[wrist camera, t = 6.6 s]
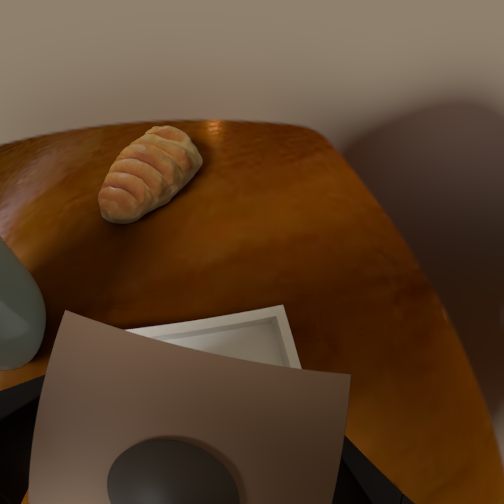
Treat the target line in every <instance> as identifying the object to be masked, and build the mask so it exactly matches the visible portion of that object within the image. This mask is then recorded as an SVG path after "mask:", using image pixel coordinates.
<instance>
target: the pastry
mask: <svg viewBox="0 0 504 504" xmlns="http://www.w3.org/2000/svg"><path fill="white" fill-rule="evenodd" d="M202 163H203V159H202V157H201V155H200V154H199V153H198V149H197V148H196V146H195V145H194V144H192V142H191V139H190V138H189V136H188V135H187V134H185V133H184V132H182V131H180V130H179V129H176V128H174V127H171V126H164V127H158V126H154V127H152V129H151V130H148V131H147V132H146V133H145V135H144V136H142V137H140V138H139V139H137V140H135V141H134V142H132V143H131V144H130V146H128V147H126V148H125V149H123V150H122V152H121V153H120V155H119V156H118V157H117V159H116V161H115V162H114V163H113V165H112V166H111V168H110V171H109V172H108V174H107V175H106V179H105V181H104V183H103V185H102V188H101V190H100V192H99V195H98V201H99V206H100V210H101V215H102V217H103V218H105V219H106V220H107V221H109V222H112V223H120V224H128V223H132V222H134V221H137V220H139V219H140V218H141V217H142V216H143V215H145V214H146V213H148V212H150V211H152V210H154V209H156V208H158V207H160V206H163V205H165V204H167V203H169V202H170V200H171V198H172V197H173V196H174V195H175V194H177V192H178V191H179V190H180V189H181V188H183V187H184V186H185V185H186V184H187V183H188V182H189V181H190V180H191V178H192V177H193V176H194V174H195V173H196V172H197V171H198V170H199V168H200V167H201V166H202Z"/></svg>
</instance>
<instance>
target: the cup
mask: <svg viewBox="0 0 504 504" xmlns="http://www.w3.org/2000/svg"><path fill="white" fill-rule="evenodd" d="M45 328H46V306H45V302H44V298H43V295H42V293H41V291H40V289H39V286H38V285H37V283H36V281H35V279H34V278H33V277H32V275H31V274H30V272H29V271H28V270H27V268H26V267H25V266H24V264H23V263H22V262H21V260H20V259H19V258H18V257H17V256H16V254H15V253H14V252H13V251H12V249H11V248H10V247H9V246H8V245H7V243H6V242H5V241H4V240H3V239H2V238H1V236H0V371H8V370H15V369H18V368H21V367H23V366H25V365H26V364H27V363H28V362H30V361H31V360H32V359H33V358H34V356H35V355H36V353H37V352H38V350H39V348H40V346H41V343H42V340H43V337H44V333H45Z"/></svg>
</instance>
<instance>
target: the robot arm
mask: <svg viewBox="0 0 504 504" xmlns="http://www.w3.org/2000/svg"><path fill="white" fill-rule="evenodd" d="M44 379H45V375H43V376H40V377H38V378H35V379H32V380H30V381H27V382H24V383H22V384H19V385H16V386H13V387H11V388H8V389H5V390H2V391H0V504H21V502H22V500H23V498H24V496H25V494H26V492H27V490H28V488H29V472H30V460H31V451H32V443H33V435H34V429H35V422H36V417H37V411H38V406H39V401H40V396H41V392H42V387H43V383H44ZM332 504H415V503H413V502H412V501H411V500H410V499H409V498H408V497H407V496H406V495H405V494H402V492H401V491H400V490H399V489H398V488H397V487H396V486H395V485H394V484H393V483H392V482H391V481H390V480H389V479H388V478H387V477H386V476H385V475H383V474H382V473H381V472H380V471H379V470H378V469H377V468H376V467H375V466H374V465H373V464H372V463H371V462H370V461H369V460H368V459H367V458H366V457H365V456H364V455H363V454H362V453H361V452H360V451H359V449H358V448H357V447H356V446H355V445H354V444H353V443H352V442H351V441H350V440H349V439H348V438H347V437H346V436H345V435H344V441H343V447H342V453H341V459H340V465H339V471H338V476H337V481H336V486H335V491H334V495H333V500H332Z"/></svg>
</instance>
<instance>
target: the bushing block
mask: <svg viewBox="0 0 504 504" xmlns="http://www.w3.org/2000/svg"><path fill="white" fill-rule="evenodd" d="M350 381H351V374H342V373H331V372H322V371H314V370H306V369H298V368H291V367H284V366H277V365H271V364H265V363H259V362H253V361H248V360H243V359H237V358H232V357H227V356H222V355H218V354H213V353H209V352H204V351H200V350H195V349H191V348H187V347H183V346H179V345H175V344H171V343H167V342H164V341H160V340H156V339H153V338H149V337H146V336H142V335H139V334H135V333H132V332H129V331H125V330H122V329H119V328H116V327H113V326H110V325H107V324H104V323H101V322H98V321H95V320H92V319H89V318H86V317H83V316H81V315H78V314H75V313H72V312H70V311H67V310H65V312H64V315H63V318H62V321H61V324H60V327H59V330H58V333H57V336H56V339H55V343H54V346H53V349H52V353H51V356H50V360H49V363H48V367H47V371H46V375H45V379H44V383H43V387H42V392H41V396H40V401H39V406H38V411H37V417H36V422H35V429H34V435H33V443H32V451H31V460H30V472H29V492H28V504H332V500H333V495H334V491H335V486H336V481H337V476H338V471H339V465H340V459H341V453H342V447H343V441H344V434H345V427H346V419H347V411H348V402H349V392H350Z"/></svg>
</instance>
